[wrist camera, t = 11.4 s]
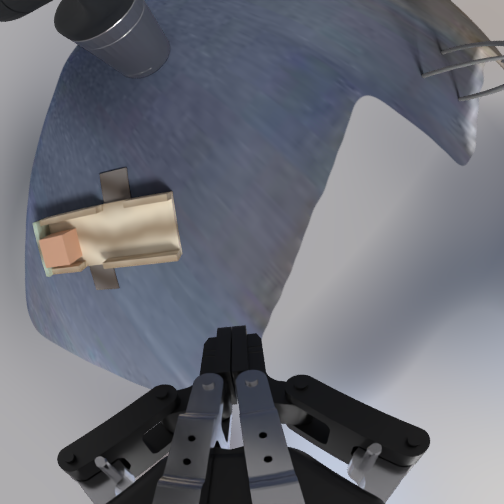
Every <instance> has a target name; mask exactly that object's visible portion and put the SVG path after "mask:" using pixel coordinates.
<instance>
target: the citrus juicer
mask: <svg viewBox="0 0 504 504" xmlns="http://www.w3.org/2000/svg"><path fill="white" fill-rule="evenodd" d="M480 46H504V41H486V42H477V43H471V44H465V45H461V46H456V47H452V48H449V49H446V50H443V51H441V54H442V55H443V54H446V53H449V52H453V51H457V50H461V49H466V48H472V47H480ZM496 60H502V61H501V62H503V63H504V55H503V56H496V57H489V58H483V59H478V60H473V61H468V62H464V63H459V64H455V65H452V66H448V67H444V68H441V69H437V70H434V71H431V72H428V73H425V74H422V77H423V78H425V77H429V76H432V75H435V74H438V73H442V72H445V71H449V70H453V69H457V68H461V67H465V66H469V65H474V64H479V63H484V62H489V61H496ZM502 90H504V84H503V85H500V86H498V87H495V88H492V89H489V90H487V91H483V92H480V93H476V94H472V95H468V96H464V97H459V98H458V100H459V101H464V100H470V99H474V98H478V97H482V96H486V95H489V94H493V93H496V92H499V91H502Z"/></svg>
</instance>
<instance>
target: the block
mask: <svg viewBox="0 0 504 504" xmlns="http://www.w3.org/2000/svg"><path fill="white" fill-rule="evenodd" d="M39 244H40V248H41V252H42V255H43V259H44V262H45V265H46V268H50V267H57V266H64V265H70V264H72V263H73V262H74V261H76V260H77V259H78V258H80V257H81V256H83V255H82V251H81V247H80V243H79V239H78V235H77V231H76V228H74V229H69V230H65V231H60V232H56V233H52V234H50V235H48V236H46V237H44V238H42V239H40V240H39Z"/></svg>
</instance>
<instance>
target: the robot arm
mask: <svg viewBox="0 0 504 504" xmlns="http://www.w3.org/2000/svg"><path fill="white" fill-rule="evenodd" d="M51 1H53V0H0V21H1V22H6V21H12V20H15V19H18V18H21V17H23V16H25V15H27V14H29V13H31V12H33V11H34V10H36V9H38V8H40V7H41V6H43V5H45V4H47V3H49V2H51ZM54 23H55V28H56V29H57V31H58V32H59V33H60V34H62V35H63V36H65V37H66V38H68V39H70V40H71V41H73V42H75V43H76V44H78V45H79V46H81V47H83V48H84V49H86V50H87V51H89V52H90V53H92V54H93V55H95V56H96V57H98V58H99V59H101V60H102V61H104V62H105V63H107V64H108V65H110V66H111V67H113V68H114V69H115V70H117V71H118V72H120V73H121V74H123V75H124V76H126V77H129V78H143V77H146V76H148V75H150V74H152V73H154V72H155V71H157V70H158V69H159V68H160V67H161V66H162V65H163V64H164V63H165V61H166V60H167V58H168V55H169V52H170V44H169V41H168V39H167V37H166V36H165V34H164V32H163V31H162V29H161V27H160V25H159V24H158V22H157V21H156V19H155V17H154V16H153V14H152V12H151V11H150V9H149V7H148V6H147V4H146V3H145V1H144V0H62V1H61V2H60V4H59V6H58V8H57V10H56V13H55V17H54ZM237 399H238V404H239V409H240V423H241V429H242V436H243V443H244V446H243V447H239V448H235V449H230V437H231V426H232V405H233V404H237ZM160 421H161V422H160ZM159 422H160V423H159ZM281 423H282V424H286V425H287V426H288V427H289V428H290V429H291V430H293V431H294V432H296V433H297V434H299V435H300V436H302V437H303V438H305V439H306V440H308V441H309V442H311V443H313V444H314V445H316V446H318V447H319V448H321V449H322V450H324V451H326V452H327V453H329V454H331V455H332V456H334V457H336V458H338V459H339V460H341V461H343V462H345V463H347V464H348V469H347V470H348V475H349V476H350V478H351V479H353V480H354V481H355V482H356V483H357V484H358V486H357V485H355V484H353V483H351V482H350V481H348V480H347V479H345V478H343V477H342V476H340V475H339V474H337V473H335V472H334V471H332V470H331V469H329V468H328V467H326V466H324V465H323V464H321V463H320V462H318V461H317V460H316V459H314V458H313V457H311V456H310V455H308V454H306V453H305V452H303V451H300V450H298V449H295V448H291V447H287V444H286V440H285V436H284V433H283V429H282V425H281ZM156 424H157V425H156ZM155 425H156V426H155ZM154 426H155V427H154ZM151 428H152V429H151ZM150 429H151V430H150ZM147 431H148V432H147ZM146 432H147V433H146ZM429 444H430V437H429V435H428V433H427V432H426V431H425V430H423V429H421V428H419V427H416V426H414V425H411V424H409V423H407V422H404V421H402V420H399V419H397V418H395V417H392V416H390V415H388V414H385V413H383V412H381V411H379V410H377V409H374V408H372V407H370V406H368V405H366V404H364V403H362V402H360V401H358V400H355V399H353V398H351V397H349V396H347V395H345V394H343V393H341V392H339V391H337V390H335V389H333V388H331V387H329V386H327V385H326V384H324V383H322V382H320V381H318V380H316V379H314V378H312V377H310V376H308V375H297V376H293V377H291V378H290V379H288V380H287V382H284V381H277V380H274V379H272V378H270V377H269V376H268V375H267V373H266V369H265V362H264V355H263V348H262V341H261V338H260V337H259V336H258V335H257V334H256V333H255V334H247V331H246V325H244V326H234V327H223V328H218V329H217V337H213V338H208V340H207V341H206V342H205V344H204V349H203V357H202V363H201V370H200V376H198V377H197V378H196V379H195V381H194V383H193V385H192V386H190V387H188V388H185V389H181V390H176V389H175V388H174V387H173V386H171V385H159V386H156V387H154V388H153V389H151V390H150V391H149V392H148V393H146V394H145V395H143V396H142V397H140V398H139V399H137V400H136V401H135V402H133V403H132V404H130V405H129V406H128V407H126V408H125V409H123V410H122V411H120V412H119V413H117V414H116V415H114V416H113V417H111V418H110V419H108V420H107V421H105V422H104V423H103V424H101V425H99V426H98V427H96V428H95V429H93V430H92V431H90V432H89V433H87V434H86V435H84V436H83V437H81V438H79V439H78V440H76V441H75V442H73V443H72V444H70V445H69V446H67V447H65V448H64V449H62V450H61V451H60V452H59V455H58V458H57V460H58V464H59V466H60V467H61V468H62V469H63V470H64V471H65V472H66V473H67V474H69V475H70V476H71V478H72V479H74V480H75V481H76V482H78V483H79V484H80V486H81V487H82V488H83V490H84V491H85V493H86V494H87V495H88V497H89V498H90V499H91V501H92V502H93V503H94V504H385V502H386V501H387V500H388V498H389V497H390V496H391V494H392V493H393V492H394V490H395V489H396V487H397V486H398V485H399V483H400V482H401V480H402V479H403V478H404V476H405V475H406V474H407V473H408V472H409V471H410V470H411V468H412V467H413V466H414V465H415V464H416V463H417V461H418V460H419V459H420V458H421V456H422V455H423V454H424V453H425V451H426V450H427V449H428V447H429ZM168 452H169V455H168V456H166V457H165V458H164V459H162V460H160V461H159V462H158V463H157V464H156V465H155V466H153V467H152V468H151V469H150V470H149V471H147V472H146V473H145V474H144V475H142V476H141V477H140V478H139V479H138V480H136V481H135V478H136V477H137V476H139V475H140V474H141V473H143V472H144V471H145V470H147V469H148V468H149V467H150V466H152V465H153V464H154V463H156V461H158V460H159V459H161V458H162V457H163V456H164V455H166V454H167V453H168Z"/></svg>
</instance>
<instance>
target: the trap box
mask: <svg viewBox="0 0 504 504" xmlns="http://www.w3.org/2000/svg"><path fill="white" fill-rule="evenodd" d="M100 180H101V187H102V194H103V200H104V204H101V205H96V206H91V207H87V208H83V209H78V210H74V211H70V212H66V213H62V214H58V215H54V216H50V217H46V218H44V219H41V220H39V221H37V222H34V223H33V227H34V232H35V236H36V240H37V244H38V248H39V252H40V256H41V259H42V263H43V266H44V270H45V273H46V276H47V277H50V276H52V275H53V274H62V273H71V272H81V271H82V270H83V269H84V268H86V267H87V266H90V270H91V273H92V276H93V280H94V283H95V286H96V289H97V290H103V289H117V288H119V284H118V281H117V277H116V274H115V270H114V268H118V267H127V266H136V265H146V264H155V263H164V262H173V261H178V260H179V258H180V257H181V255H182V249H181V243H180V237H179V231H178V225H177V219H176V213H175V206H174V199H173V192H172V191H171V192H165V193H159V194H153V195H147V196H141V197H136V198H131V194H130V188H129V181H128V173H127V168H122V169H118V170H114V171H110V172H106V173H102V174H100ZM74 228H76V231H77V235H78V239H79V243H80V247H81V251H82V255H83V256H81V257H80V258H78V259H77V260H76V261H74V262H73V263H72V264H70V265H64V266H57V267H50V268H46V265H45V262H44V259H43V255H42V252H41V248H40V244H39V240H40V239H42V238H44V237H46V236H48V235H50V234H52V233H56V232H60V231H65V230H69V229H74Z"/></svg>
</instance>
